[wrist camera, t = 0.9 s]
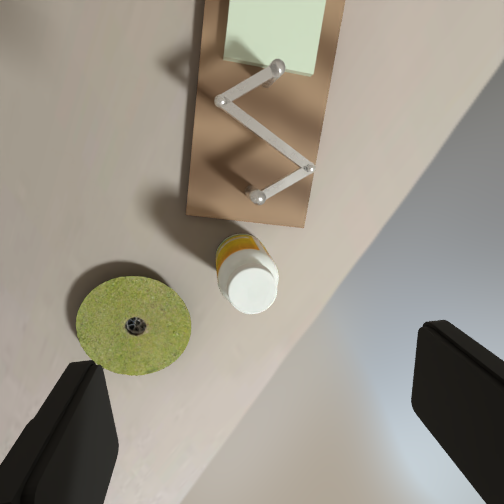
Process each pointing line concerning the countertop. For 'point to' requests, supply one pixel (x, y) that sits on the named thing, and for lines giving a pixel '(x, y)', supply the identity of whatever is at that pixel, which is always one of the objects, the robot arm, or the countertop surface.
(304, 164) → the bent wire
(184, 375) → the countertop surface
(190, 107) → the countertop surface
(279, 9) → the pad
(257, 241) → the supplement bottle
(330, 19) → the wire board
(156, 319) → the yellow-green flat disc
